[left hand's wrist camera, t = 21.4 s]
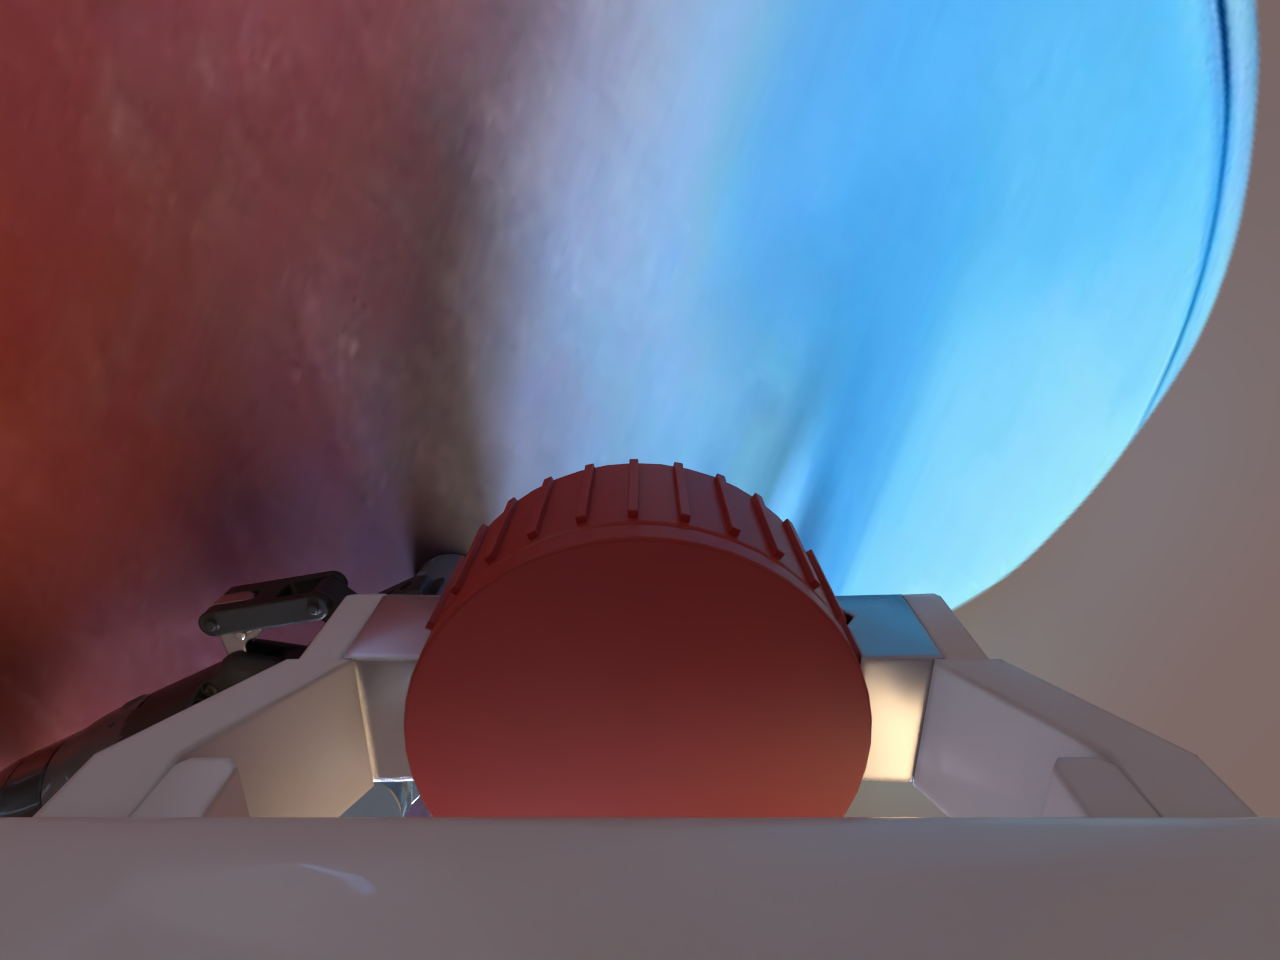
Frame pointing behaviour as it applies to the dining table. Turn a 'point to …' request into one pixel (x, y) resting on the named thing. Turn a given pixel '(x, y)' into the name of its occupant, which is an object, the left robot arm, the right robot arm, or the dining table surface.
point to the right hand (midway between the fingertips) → (471, 635)
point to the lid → (638, 660)
